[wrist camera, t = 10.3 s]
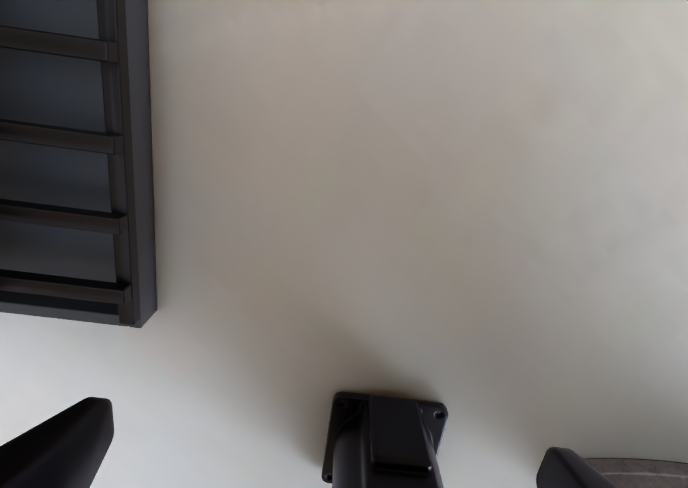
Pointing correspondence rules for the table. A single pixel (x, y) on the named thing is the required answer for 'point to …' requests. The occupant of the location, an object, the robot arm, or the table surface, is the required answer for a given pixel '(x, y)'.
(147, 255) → the dish rack
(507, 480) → the table surface
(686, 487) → the flask
